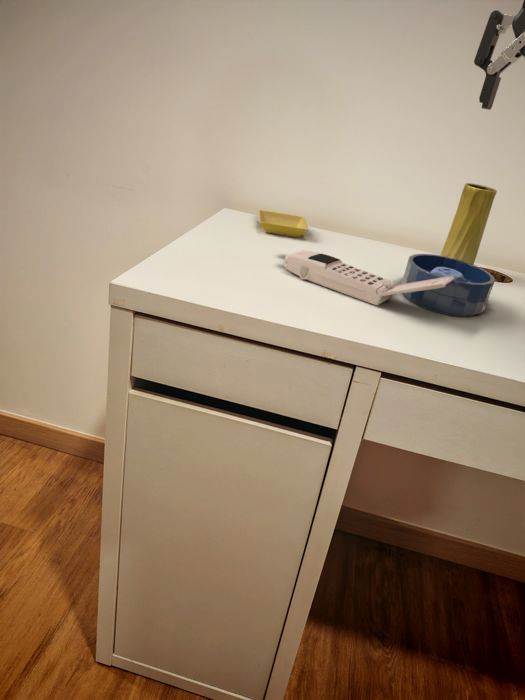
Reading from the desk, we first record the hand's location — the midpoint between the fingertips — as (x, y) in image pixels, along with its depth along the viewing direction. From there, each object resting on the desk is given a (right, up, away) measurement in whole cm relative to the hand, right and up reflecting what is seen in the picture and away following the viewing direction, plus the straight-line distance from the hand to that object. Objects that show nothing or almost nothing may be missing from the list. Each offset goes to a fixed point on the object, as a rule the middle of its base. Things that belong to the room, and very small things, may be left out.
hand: (520, 115), depth 71 cm
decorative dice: (-5, -21, +15) cm, 26 cm away
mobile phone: (-18, -20, +12) cm, 30 cm away
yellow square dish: (-28, -7, +35) cm, 46 cm away
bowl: (-5, -21, +15) cm, 26 cm away
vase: (+2, -14, +32) cm, 35 cm away
